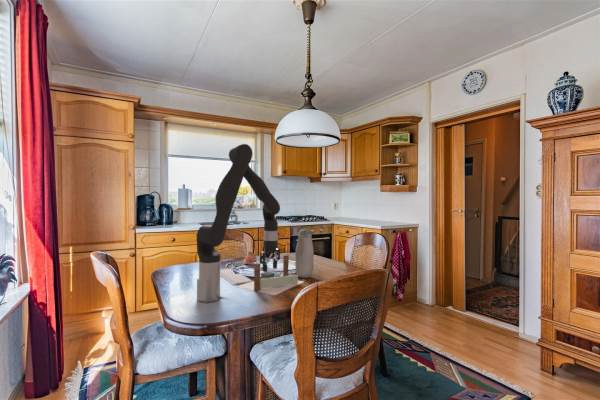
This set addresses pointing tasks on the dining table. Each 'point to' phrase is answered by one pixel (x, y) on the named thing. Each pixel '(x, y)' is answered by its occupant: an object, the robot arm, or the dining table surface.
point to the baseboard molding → (233, 277)
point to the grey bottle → (304, 254)
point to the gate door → (278, 281)
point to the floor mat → (269, 290)
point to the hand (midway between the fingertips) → (269, 270)
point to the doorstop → (267, 275)
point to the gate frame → (257, 272)
